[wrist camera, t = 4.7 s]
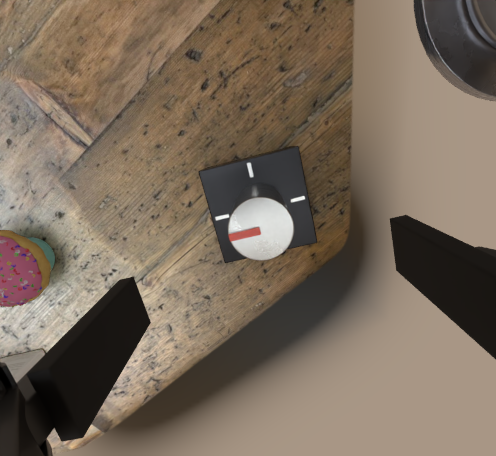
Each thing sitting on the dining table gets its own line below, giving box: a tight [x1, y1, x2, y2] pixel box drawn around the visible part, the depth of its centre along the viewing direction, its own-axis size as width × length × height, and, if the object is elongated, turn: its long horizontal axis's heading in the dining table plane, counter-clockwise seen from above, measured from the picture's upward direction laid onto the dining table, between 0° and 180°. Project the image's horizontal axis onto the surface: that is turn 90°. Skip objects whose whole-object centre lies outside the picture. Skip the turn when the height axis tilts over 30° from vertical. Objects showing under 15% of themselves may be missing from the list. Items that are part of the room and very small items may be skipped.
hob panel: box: [199, 146, 317, 263], centre depth 32 cm, size 10×10×4 cm
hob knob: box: [228, 183, 294, 261], centre depth 26 cm, size 5×5×8 cm
